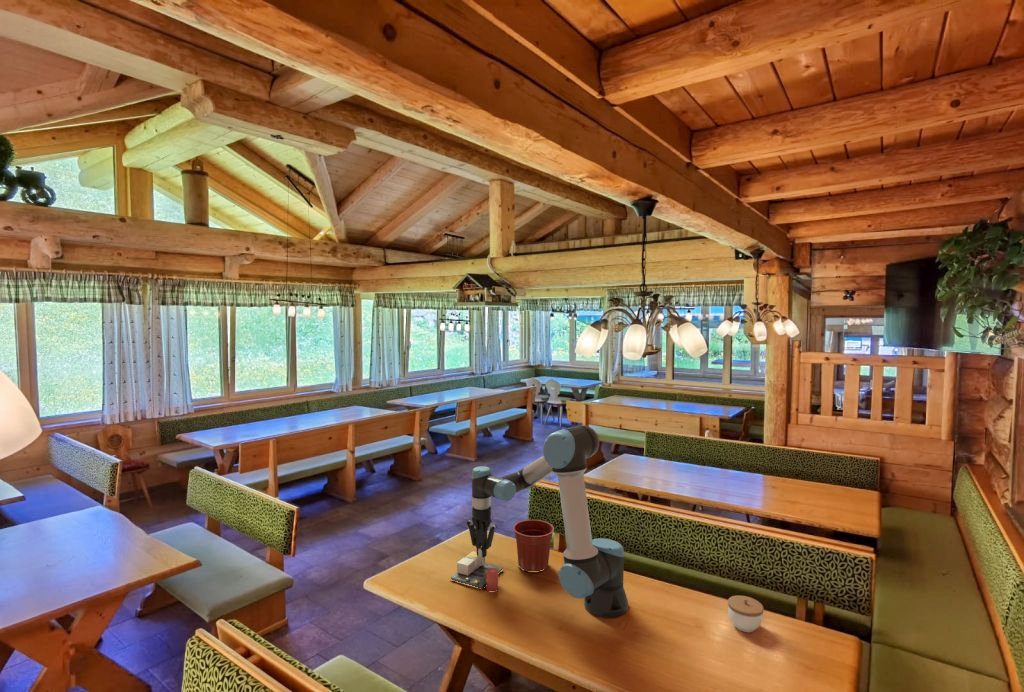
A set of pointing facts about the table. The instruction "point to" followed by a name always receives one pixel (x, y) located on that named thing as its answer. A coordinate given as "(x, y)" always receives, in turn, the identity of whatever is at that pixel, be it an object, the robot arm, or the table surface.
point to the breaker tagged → (474, 558)
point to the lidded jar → (745, 613)
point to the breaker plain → (465, 566)
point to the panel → (476, 576)
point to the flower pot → (533, 544)
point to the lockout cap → (492, 579)
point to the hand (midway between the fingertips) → (481, 563)
